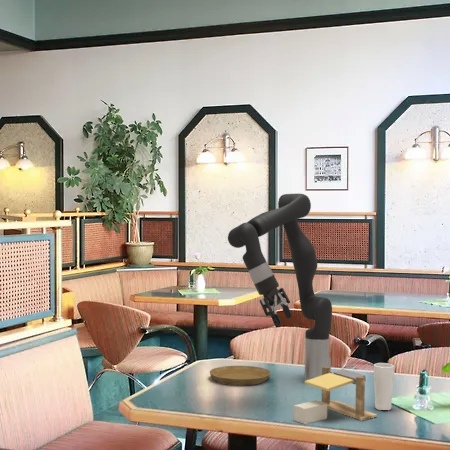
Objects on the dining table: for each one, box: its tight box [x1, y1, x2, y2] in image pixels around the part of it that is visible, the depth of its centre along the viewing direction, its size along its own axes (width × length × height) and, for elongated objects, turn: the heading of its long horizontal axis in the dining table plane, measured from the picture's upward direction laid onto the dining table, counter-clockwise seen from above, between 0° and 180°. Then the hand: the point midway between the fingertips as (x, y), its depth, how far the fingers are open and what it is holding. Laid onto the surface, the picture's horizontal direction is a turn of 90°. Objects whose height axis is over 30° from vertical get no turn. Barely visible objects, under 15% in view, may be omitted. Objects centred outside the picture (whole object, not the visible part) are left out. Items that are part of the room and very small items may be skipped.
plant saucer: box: [209, 365, 272, 386], centre depth 282 cm, size 24×24×3 cm
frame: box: [321, 366, 378, 422], centre depth 240 cm, size 7×20×14 cm, turn 34°
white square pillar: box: [293, 399, 328, 425], centre depth 231 cm, size 5×5×10 cm
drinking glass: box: [373, 362, 395, 411], centre depth 243 cm, size 7×7×15 cm
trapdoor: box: [304, 368, 367, 392], centre depth 236 cm, size 17×11×2 cm
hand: (284, 321), depth 244 cm, fingers open, 8 cm apart
